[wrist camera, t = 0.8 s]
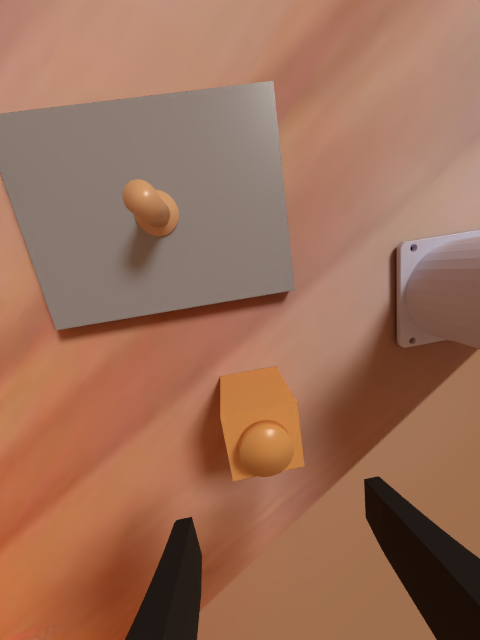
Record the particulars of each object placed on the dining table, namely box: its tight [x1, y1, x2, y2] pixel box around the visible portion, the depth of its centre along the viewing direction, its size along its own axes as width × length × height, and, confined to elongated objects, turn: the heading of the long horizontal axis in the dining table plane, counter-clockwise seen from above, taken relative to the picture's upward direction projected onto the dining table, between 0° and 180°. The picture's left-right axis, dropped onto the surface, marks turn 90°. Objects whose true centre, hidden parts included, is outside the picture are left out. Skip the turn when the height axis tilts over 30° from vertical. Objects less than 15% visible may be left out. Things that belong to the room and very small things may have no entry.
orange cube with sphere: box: [220, 366, 304, 481], centre depth 15 cm, size 4×4×6 cm
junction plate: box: [0, 81, 295, 330], centre depth 13 cm, size 16×12×4 cm
